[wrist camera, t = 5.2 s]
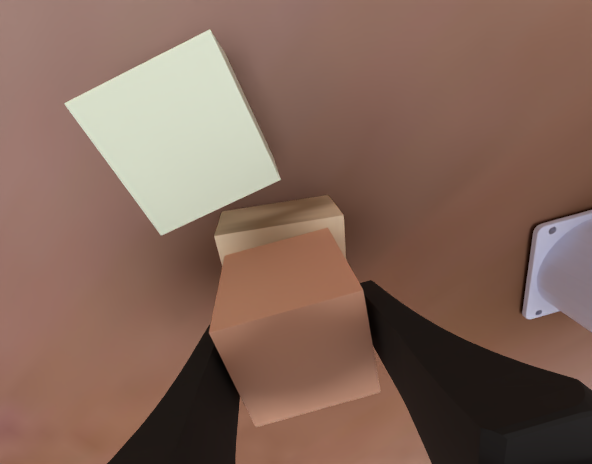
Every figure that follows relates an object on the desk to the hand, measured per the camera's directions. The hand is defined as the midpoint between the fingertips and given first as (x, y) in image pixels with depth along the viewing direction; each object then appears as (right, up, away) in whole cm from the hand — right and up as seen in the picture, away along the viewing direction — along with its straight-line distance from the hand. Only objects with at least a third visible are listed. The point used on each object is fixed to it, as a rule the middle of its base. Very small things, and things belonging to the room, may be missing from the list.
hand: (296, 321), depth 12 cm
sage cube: (-4, +9, +2) cm, 10 cm away
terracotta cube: (0, +1, +3) cm, 3 cm away
